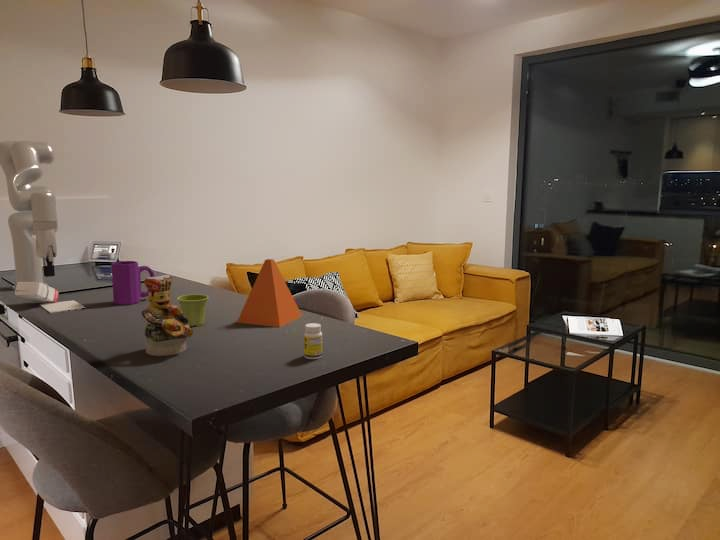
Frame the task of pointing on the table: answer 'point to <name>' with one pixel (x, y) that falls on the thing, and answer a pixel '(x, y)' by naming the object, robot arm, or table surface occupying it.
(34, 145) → the robot arm
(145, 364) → the table surface
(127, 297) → the mug
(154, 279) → the figurine
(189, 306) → the plant pot
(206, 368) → the table surface
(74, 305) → the mat
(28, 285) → the ink box
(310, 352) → the supplement bottle
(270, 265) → the pyramid
